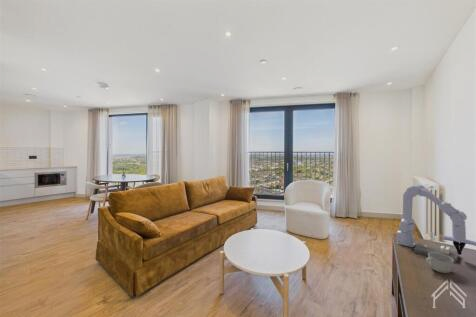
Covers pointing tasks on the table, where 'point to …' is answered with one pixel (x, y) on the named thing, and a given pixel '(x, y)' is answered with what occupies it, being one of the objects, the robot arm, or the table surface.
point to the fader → (445, 250)
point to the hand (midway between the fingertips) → (459, 254)
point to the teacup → (440, 262)
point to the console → (427, 249)
